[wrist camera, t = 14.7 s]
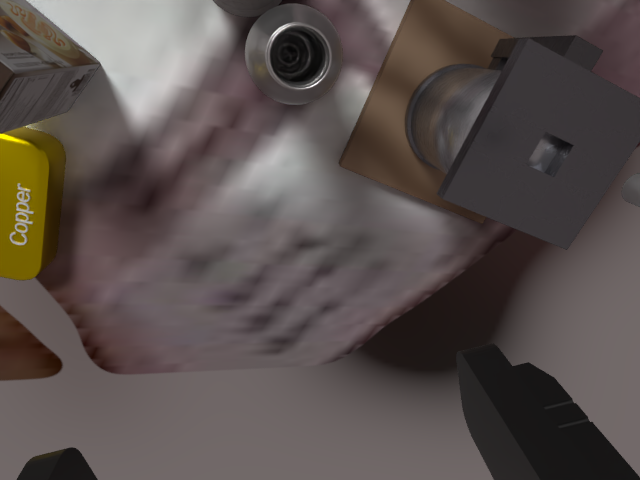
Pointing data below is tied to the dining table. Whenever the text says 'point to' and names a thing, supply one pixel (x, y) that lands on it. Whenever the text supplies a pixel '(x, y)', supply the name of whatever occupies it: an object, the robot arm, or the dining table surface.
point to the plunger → (632, 190)
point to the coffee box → (37, 66)
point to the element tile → (29, 201)
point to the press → (526, 134)
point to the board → (397, 88)
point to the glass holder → (247, 6)
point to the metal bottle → (293, 54)
